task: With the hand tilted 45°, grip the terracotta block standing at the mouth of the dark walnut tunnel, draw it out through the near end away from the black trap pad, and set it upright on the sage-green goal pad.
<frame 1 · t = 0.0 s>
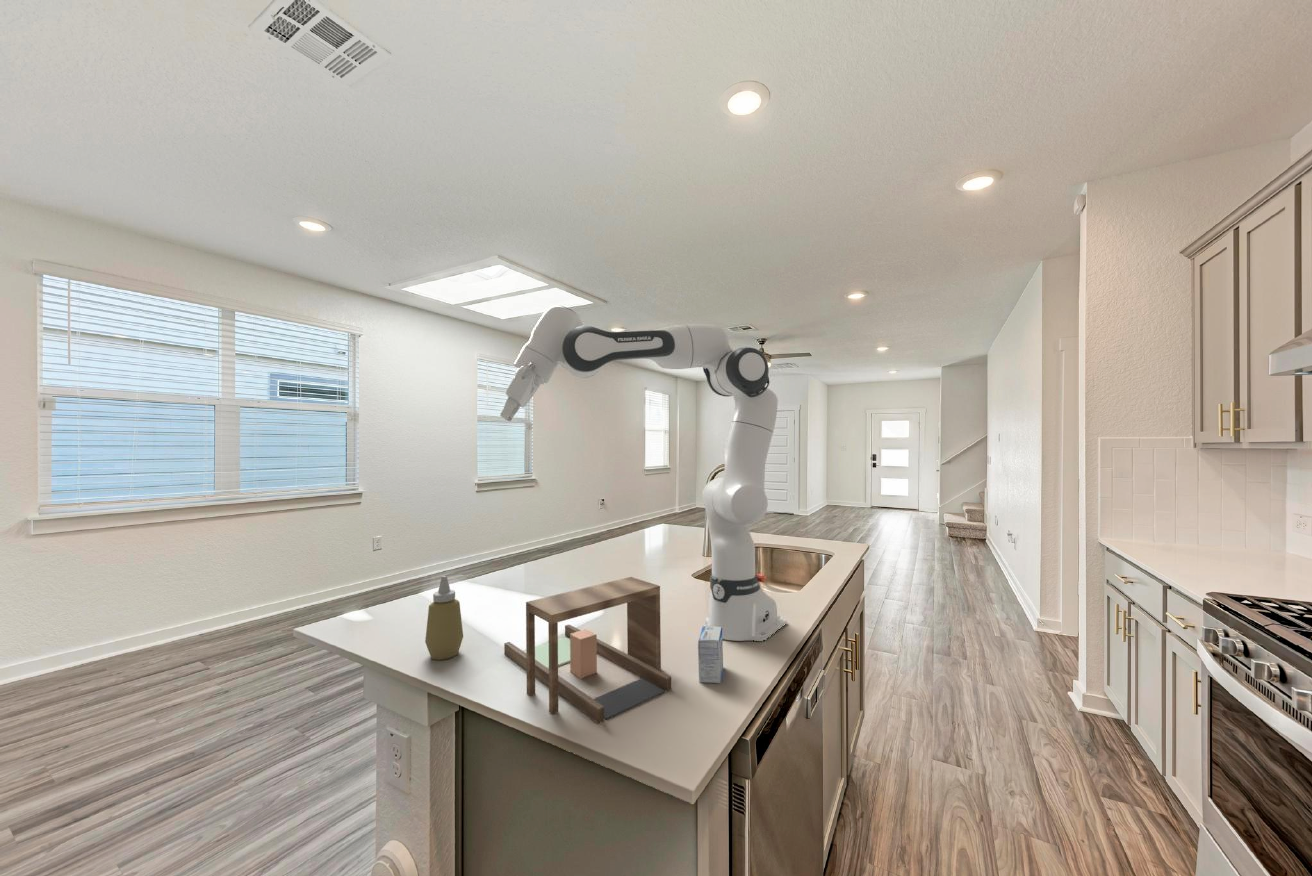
hand: (505, 419, 113), 54 cm above the counter, tool tilted 30°, fingers open, 8 cm apart
goal pad: (555, 654, 112), on the counter
walnut tunnel: (583, 671, 103), on the counter
trap pad: (625, 698, 92), on the counter
terracotta block: (583, 672, 103), on the counter
squeeze bottle: (444, 656, 112), on the counter
medicine box: (711, 675, 101), on the counter
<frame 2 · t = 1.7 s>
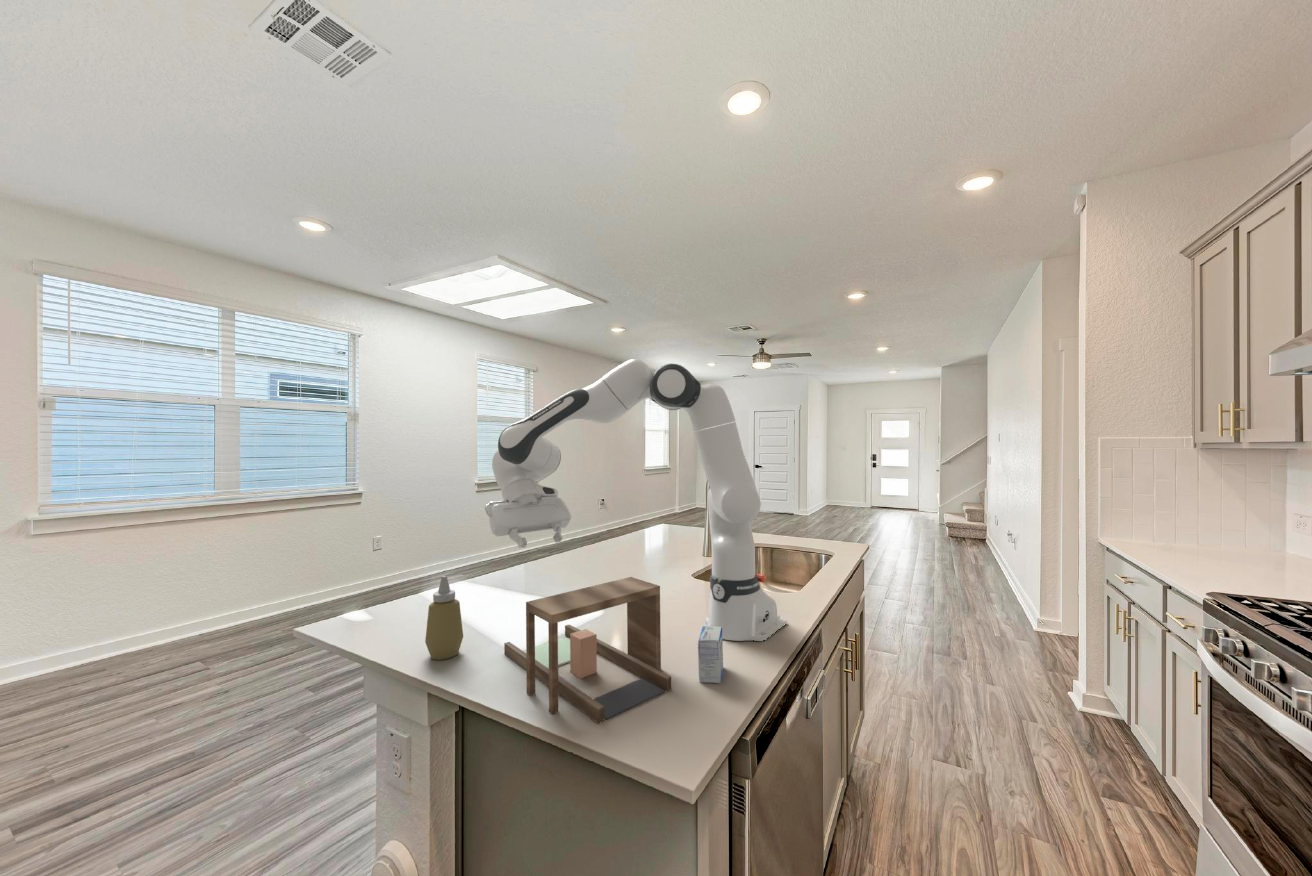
hand: (541, 543, 116), 25 cm above the counter, tool tilted 45°, fingers open, 8 cm apart
nothing on the counter moved.
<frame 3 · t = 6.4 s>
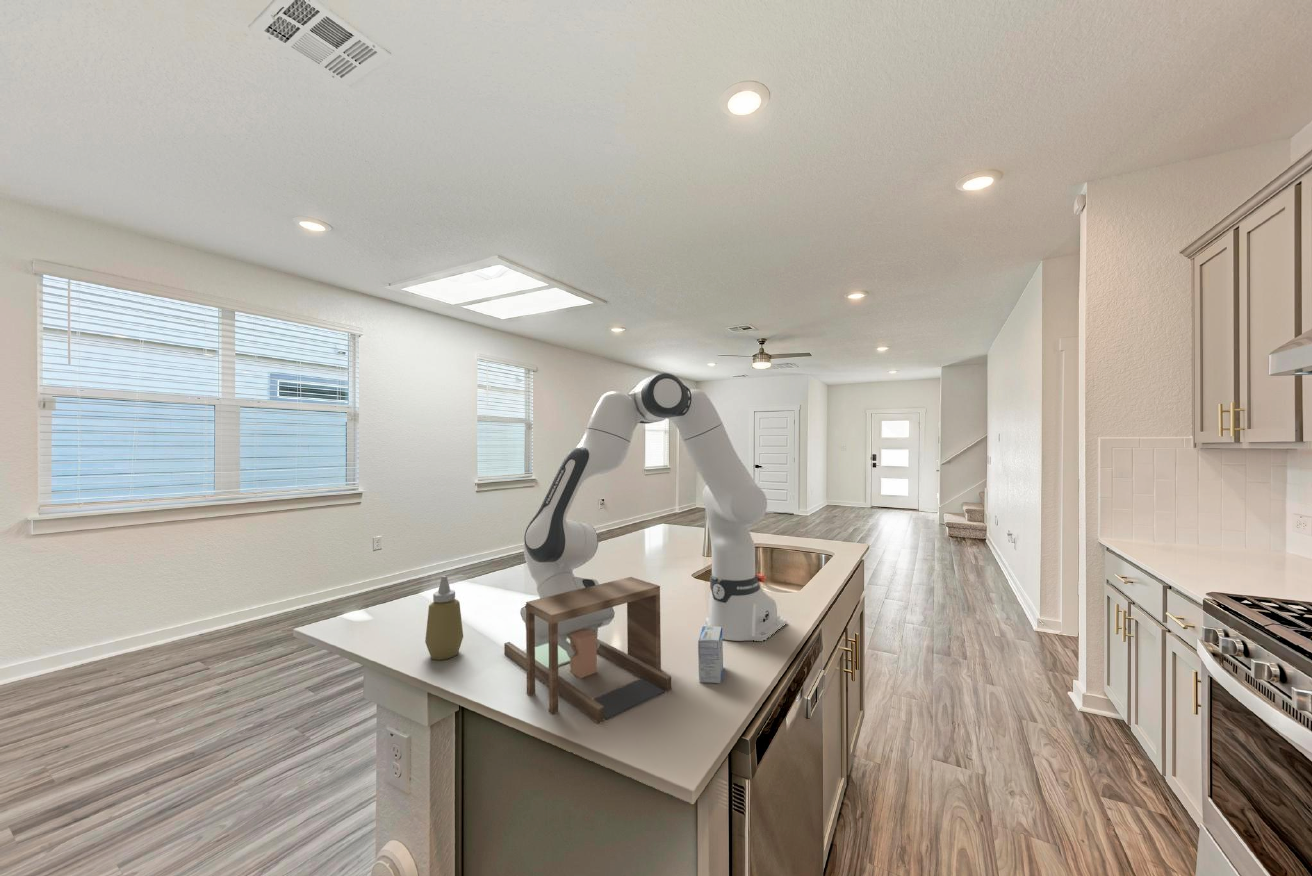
hand: (585, 652, 102), 4 cm above the counter, tool tilted 45°, fingers closed on terracotta block, 4 cm apart
terracotta block: (583, 672, 103), on the counter, touching gripper
everything else where it was.
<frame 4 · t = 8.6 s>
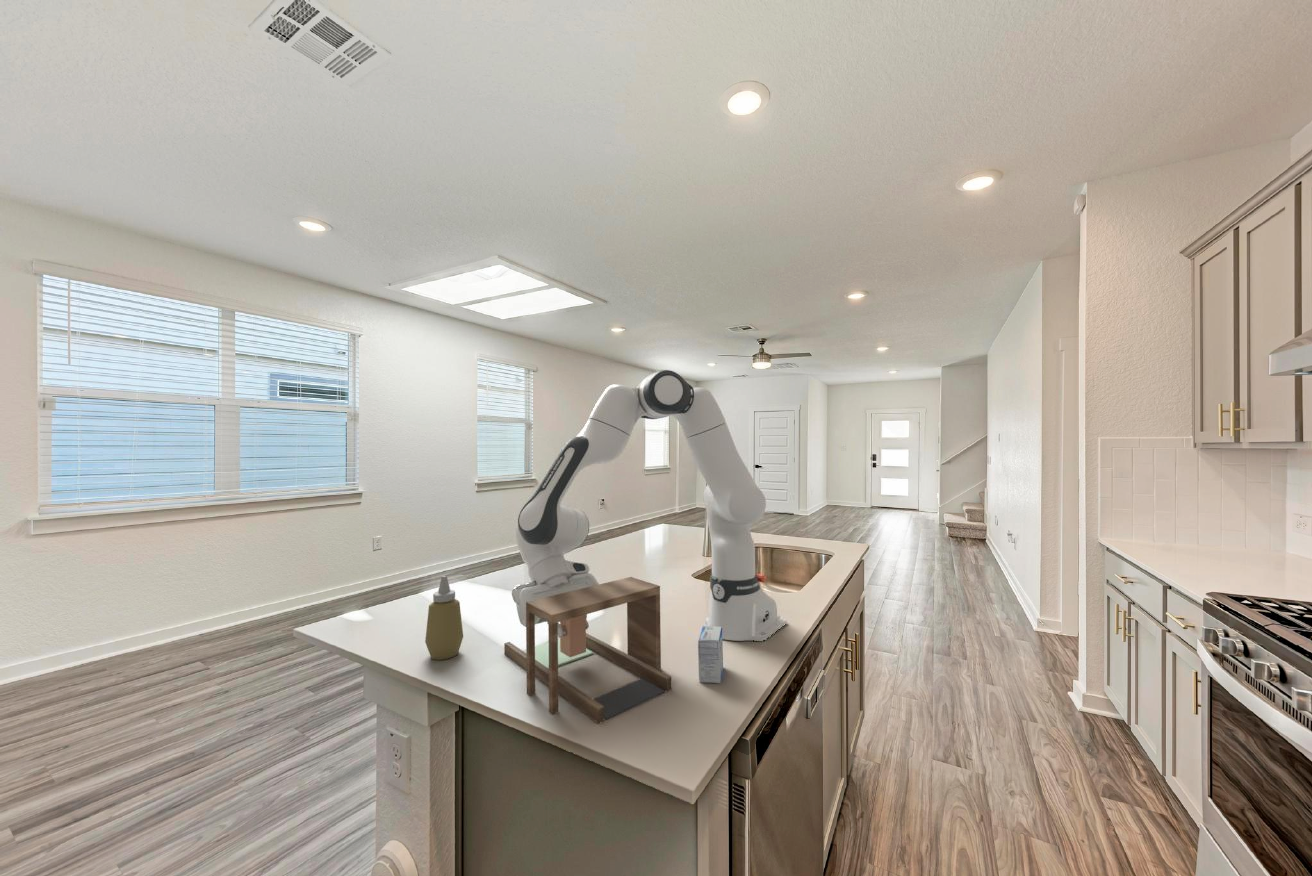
hand: (574, 632, 105), 7 cm above the counter, tool tilted 45°, fingers closed on terracotta block, 4 cm apart
terracotta block: (573, 651, 105), point 3 cm above the counter, touching gripper
everything else where it was.
when the fingers open (6 cm above the counter, at t = 11.2 s): terracotta block drops 1 cm, resting on goal pad.
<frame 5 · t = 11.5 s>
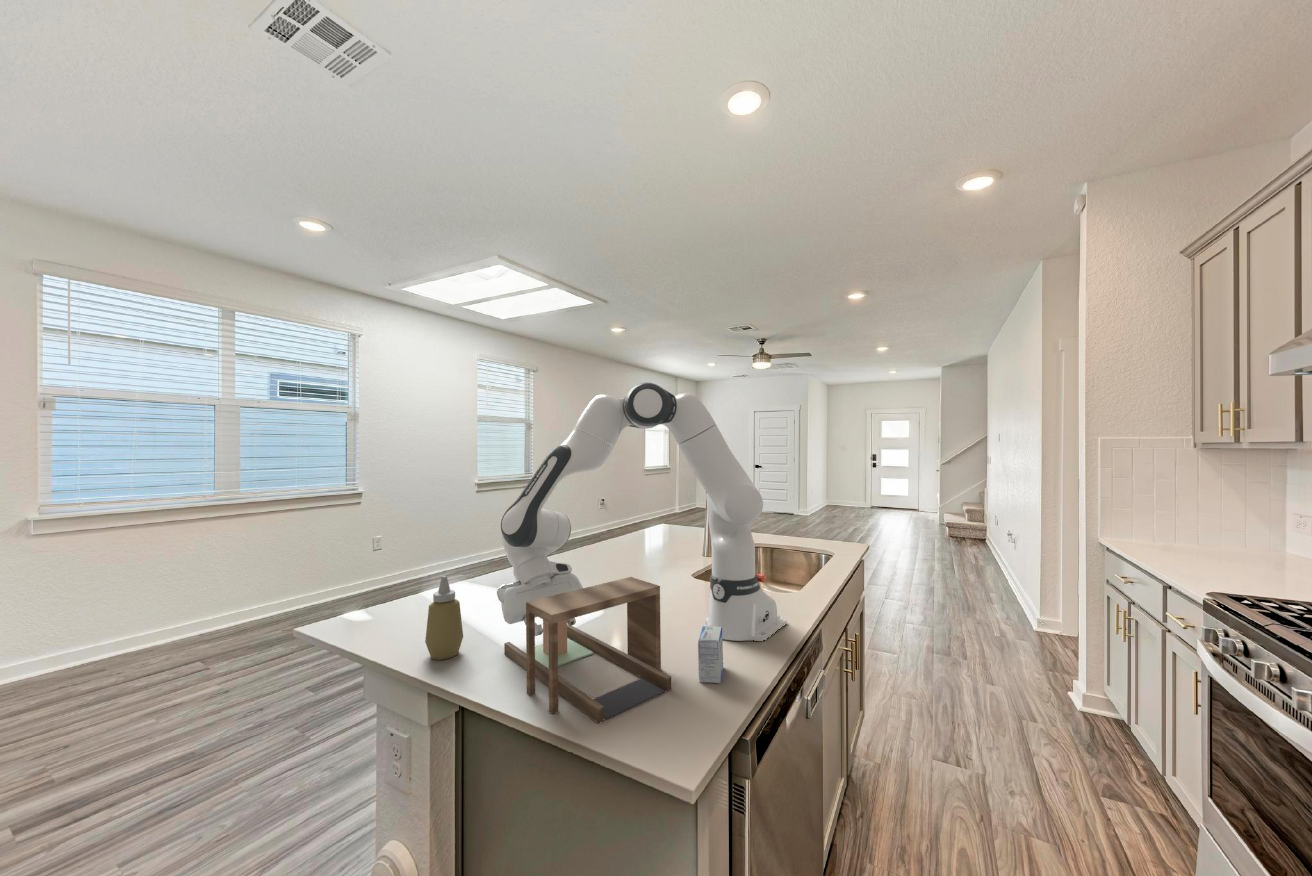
hand: (556, 629, 111), 6 cm above the counter, tool tilted 45°, fingers open, 7 cm apart
terracotta block: (555, 652, 112), resting on goal pad
everything else where it was.
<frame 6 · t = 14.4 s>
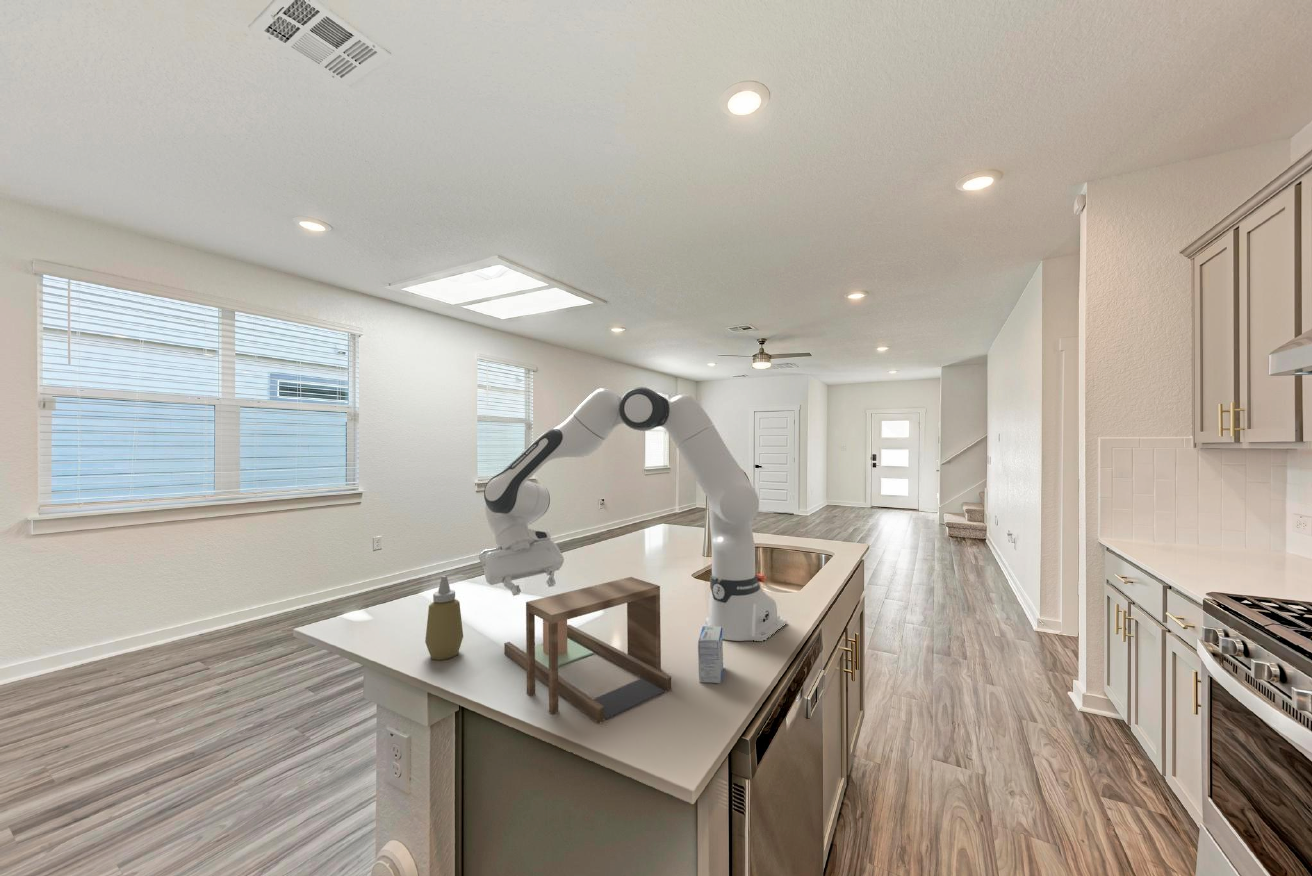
hand: (535, 589, 119), 13 cm above the counter, tool tilted 45°, fingers open, 8 cm apart
nothing on the counter moved.
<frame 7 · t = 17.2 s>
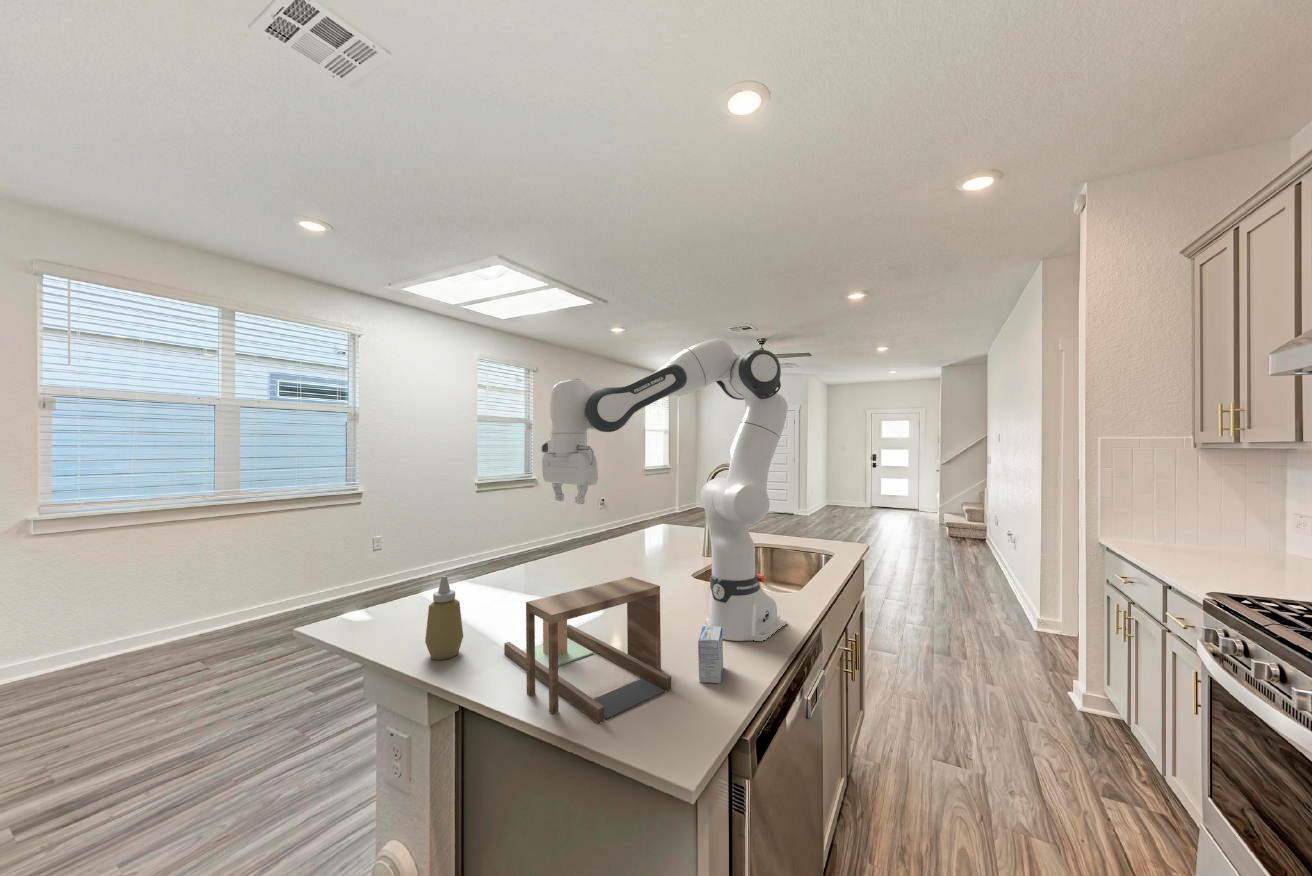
hand: (569, 502, 118), 34 cm above the counter, tool pointing down, fingers open, 8 cm apart
nothing on the counter moved.
at the end: terracotta block inside the target area (0.1 cm from its centre), resting on goal pad; terracotta block tilted 0°; the gripper is holding nothing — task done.
